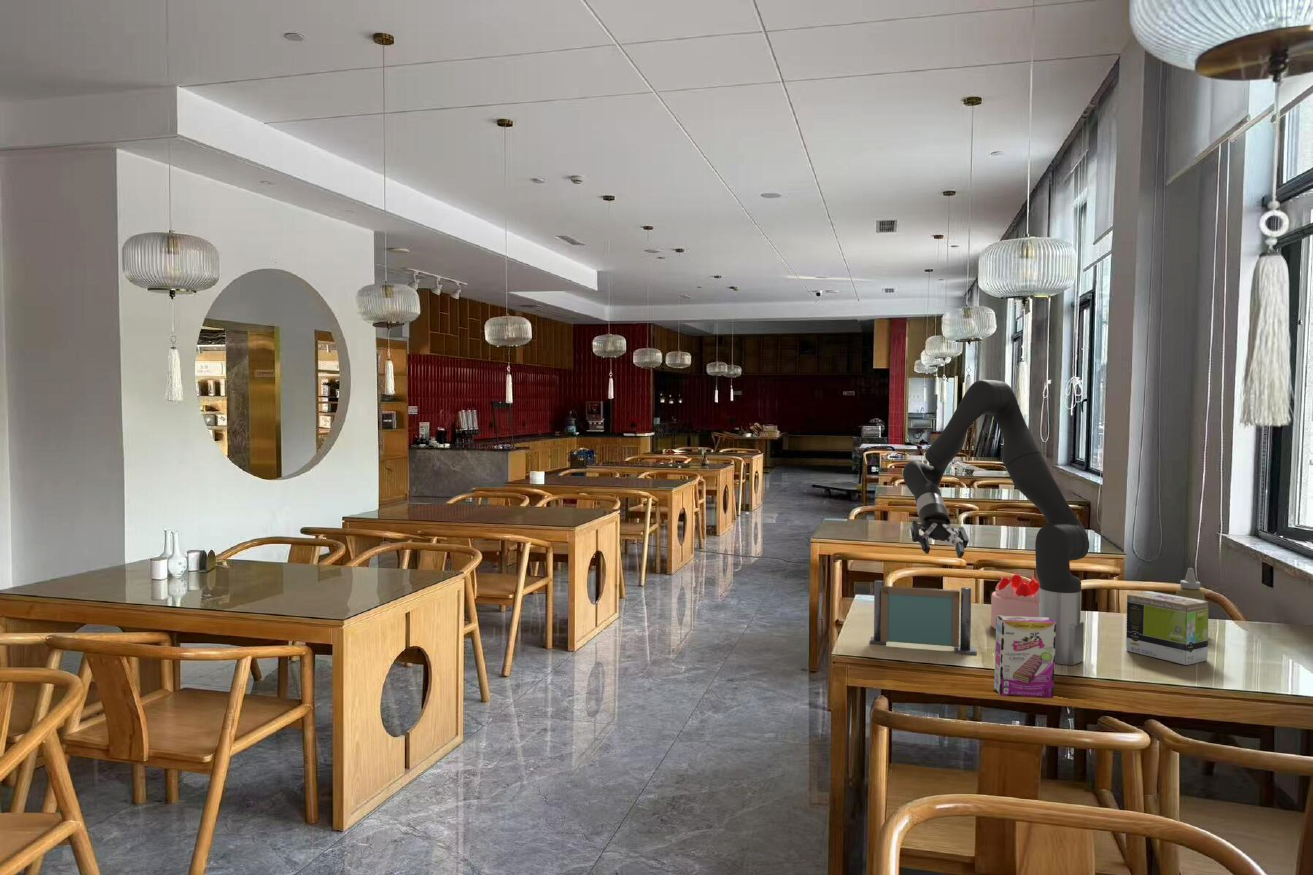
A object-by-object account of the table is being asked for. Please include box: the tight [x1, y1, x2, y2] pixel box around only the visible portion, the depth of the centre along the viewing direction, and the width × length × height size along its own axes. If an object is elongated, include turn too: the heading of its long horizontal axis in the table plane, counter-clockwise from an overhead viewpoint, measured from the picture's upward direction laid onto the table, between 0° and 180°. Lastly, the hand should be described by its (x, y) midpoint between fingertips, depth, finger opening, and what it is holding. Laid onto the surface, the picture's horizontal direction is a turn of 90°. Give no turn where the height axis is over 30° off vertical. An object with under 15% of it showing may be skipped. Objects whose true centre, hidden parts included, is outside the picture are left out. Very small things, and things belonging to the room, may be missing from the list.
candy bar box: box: [993, 615, 1056, 699], centre depth 183 cm, size 11×5×16 cm, turn 84°
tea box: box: [1125, 590, 1209, 666], centre depth 213 cm, size 15×10×15 cm, turn 30°
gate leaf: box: [881, 585, 961, 648], centre depth 219 cm, size 19×2×14 cm, turn 74°
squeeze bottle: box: [1175, 567, 1206, 601], centre depth 234 cm, size 8×8×18 cm
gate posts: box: [869, 579, 978, 656], centre depth 220 cm, size 26×7×16 cm, turn 74°
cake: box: [990, 574, 1039, 630], centre depth 238 cm, size 20×20×14 cm
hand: (944, 553), depth 221 cm, fingers open, 8 cm apart
